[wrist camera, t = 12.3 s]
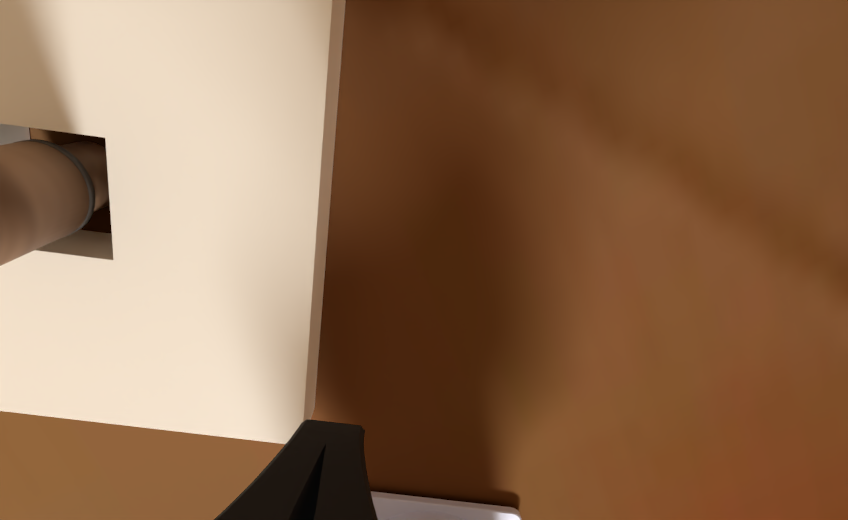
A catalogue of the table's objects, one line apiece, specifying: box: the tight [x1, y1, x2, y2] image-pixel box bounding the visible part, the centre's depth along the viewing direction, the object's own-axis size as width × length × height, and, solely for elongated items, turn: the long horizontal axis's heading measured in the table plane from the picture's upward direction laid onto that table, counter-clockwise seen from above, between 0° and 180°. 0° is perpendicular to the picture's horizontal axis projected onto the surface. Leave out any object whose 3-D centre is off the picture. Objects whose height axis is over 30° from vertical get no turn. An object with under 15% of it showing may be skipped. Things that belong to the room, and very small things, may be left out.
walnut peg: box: [0, 139, 110, 266], centre depth 16 cm, size 3×3×8 cm
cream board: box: [0, 0, 346, 444], centre depth 19 cm, size 18×18×2 cm
